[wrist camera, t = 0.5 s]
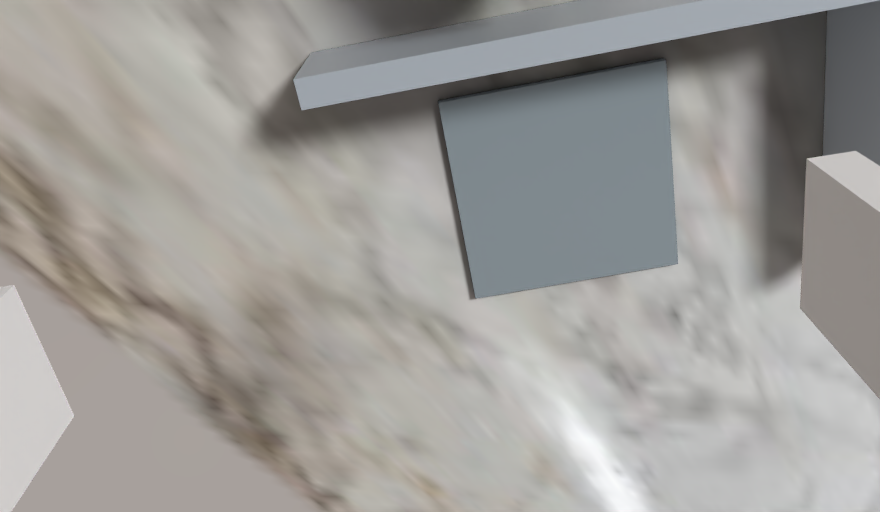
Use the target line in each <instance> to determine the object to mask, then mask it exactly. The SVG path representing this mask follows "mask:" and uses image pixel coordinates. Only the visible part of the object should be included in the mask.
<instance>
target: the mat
mask: <svg viewBox="0 0 880 512" xmlns="http://www.w3.org/2000/svg"><path fill="white" fill-rule="evenodd" d="M438 104H439V109H440V115H441V120H442V125H443V130H444V136H445V141H446V146H447V151H448V157H449V162H450V167H451V172H452V178H453V183H454V188H455V193H456V198H457V204H458V209H459V214H460V219H461V225H462V230H463V235H464V240H465V246H466V251H467V256H468V261H469V267H470V272H471V277H472V282H473V288H474V293H475V298H482V297H488V296H494V295H499V294H505V293H511V292H517V291H523V290H529V289H534V288H540V287H546V286H552V285H558V284H564V283H569V282H575V281H581V280H587V279H593V278H599V277H605V276H610V275H616V274H622V273H628V272H634V271H640V270H645V269H651V268H657V267H663V266H669V265H675V264H678V254H677V237H676V220H675V203H674V185H673V168H672V151H671V134H670V117H669V100H668V83H667V66H666V60H665V59H664V58H662V59H657V60H652V61H646V62H641V63H636V64H630V65H625V66H620V67H614V68H609V69H604V70H599V71H593V72H588V73H583V74H577V75H572V76H567V77H561V78H556V79H551V80H546V81H540V82H535V83H530V84H524V85H519V86H514V87H509V88H503V89H498V90H493V91H487V92H482V93H477V94H471V95H466V96H461V97H456V98H450V99H445V100H440V101H438Z"/></svg>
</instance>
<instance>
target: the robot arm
mask: <svg viewBox="0 0 880 512" xmlns="http://www.w3.org/2000/svg"><path fill="white" fill-rule="evenodd" d="M800 309H801V310H802V311H803V312H804V313H805V314H806V315H807V317H808V318H809V319H810V320H811V321H812V322H813V323H814V325H815V326H816V327H817V328H818V329H819V330H820V331H821V333H822V334H823V335H824V336H825V337H826V338H827V339H828V341H829V342H830V343H831V344H832V345H833V346H834V347H835V349H836V350H837V351H838V352H839V353H840V354H841V355H842V357H843V358H844V359H845V360H846V361H847V362H848V364H849V365H850V366H851V367H852V368H853V369H854V370H855V372H856V373H857V374H858V375H859V376H860V377H861V378H862V380H863V381H864V382H865V383H866V384H867V385H868V386H869V388H870V389H871V390H872V391H873V392H874V393H875V394H876V396H877V397H878V398H879V399H880V166H879V165H878V164H876V163H874V162H873V161H871V160H870V159H868V158H866V157H865V156H863V155H862V154H860V153H859V152H857V151H851V152H845V153H838V154H832V155H826V156H820V157H813V158H807V159H806V182H805V205H804V229H803V252H802V275H801V299H800ZM73 417H74V414H73V412H72V410H71V408H70V405H69V403H68V401H67V399H66V397H65V395H64V393H63V390H62V388H61V386H60V384H59V382H58V379H57V377H56V375H55V373H54V371H53V369H52V366H51V364H50V362H49V360H48V358H47V356H46V353H45V351H44V349H43V347H42V345H41V342H40V340H39V338H38V336H37V334H36V332H35V329H34V327H33V325H32V323H31V321H30V319H29V316H28V315H27V312H26V310H25V308H24V306H23V303H22V301H21V299H20V297H19V295H18V293H17V290H16V288H15V286H14V285H10V286H4V287H0V512H12V510H13V508H14V507H15V506H16V504H17V502H18V501H19V499H20V498H21V496H22V495H23V493H24V492H25V490H26V489H27V487H28V486H29V484H30V482H31V481H32V479H33V478H34V477H35V475H36V474H37V472H38V470H39V469H40V467H41V466H42V464H43V463H44V461H45V460H46V458H47V457H48V455H49V454H50V452H51V451H52V449H53V448H54V446H55V445H56V443H57V442H58V440H59V438H60V437H61V435H62V434H63V432H64V431H65V429H66V427H67V426H68V425H69V423H70V422H71V420H72V419H73Z"/></svg>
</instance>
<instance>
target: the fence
mask: <svg viewBox="0 0 880 512" xmlns="http://www.w3.org/2000/svg"><path fill="white" fill-rule="evenodd" d="M822 11H827V34H826V66H825V99H824V131H823V156H826V155H832V154H838V153H845V152H851V151H857V152H859V153H860V154H862V155H863V156H865V157H866V158H868V159H870V160H871V161H873V162H874V163H876V164H878V165H879V166H880V0H578V1H573V2H568V3H563V4H558V5H553V6H547V7H542V8H537V9H532V10H527V11H522V12H517V13H511V14H506V15H501V16H496V17H491V18H486V19H481V20H476V21H470V22H465V23H460V24H455V25H450V26H445V27H440V28H435V29H429V30H424V31H419V32H414V33H409V34H404V35H399V36H394V37H388V38H383V39H378V40H373V41H368V42H363V43H358V44H353V45H347V46H342V47H337V48H332V49H327V50H322V51H317V52H312V53H310V55H309V56H308V58H307V59H306V61H305V62H304V64H303V65H302V67H301V68H300V70H299V71H298V73H297V74H296V76H295V77H294V79H293V81H294V84H295V88H296V92H297V96H298V99H299V103H300V107H301V110H306V109H312V108H317V107H322V106H327V105H333V104H338V103H343V102H348V101H354V100H359V99H364V98H370V97H375V96H380V95H385V94H391V93H396V92H401V91H406V90H412V89H417V88H422V87H427V86H433V85H438V84H443V83H448V82H454V81H459V80H464V79H469V78H475V77H480V76H485V75H490V74H496V73H501V72H506V71H511V70H517V69H522V68H527V67H533V66H538V65H543V64H548V63H554V62H559V61H564V60H569V59H575V58H580V57H585V56H590V55H596V54H601V53H606V52H611V51H617V50H622V49H627V48H632V47H638V46H643V45H648V44H653V43H659V42H664V41H669V40H674V39H680V38H685V37H690V36H695V35H701V34H706V33H711V32H717V31H722V30H727V29H732V28H738V27H743V26H748V25H753V24H759V23H764V22H769V21H774V20H780V19H785V18H790V17H795V16H801V15H806V14H811V13H816V12H822Z"/></svg>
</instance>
